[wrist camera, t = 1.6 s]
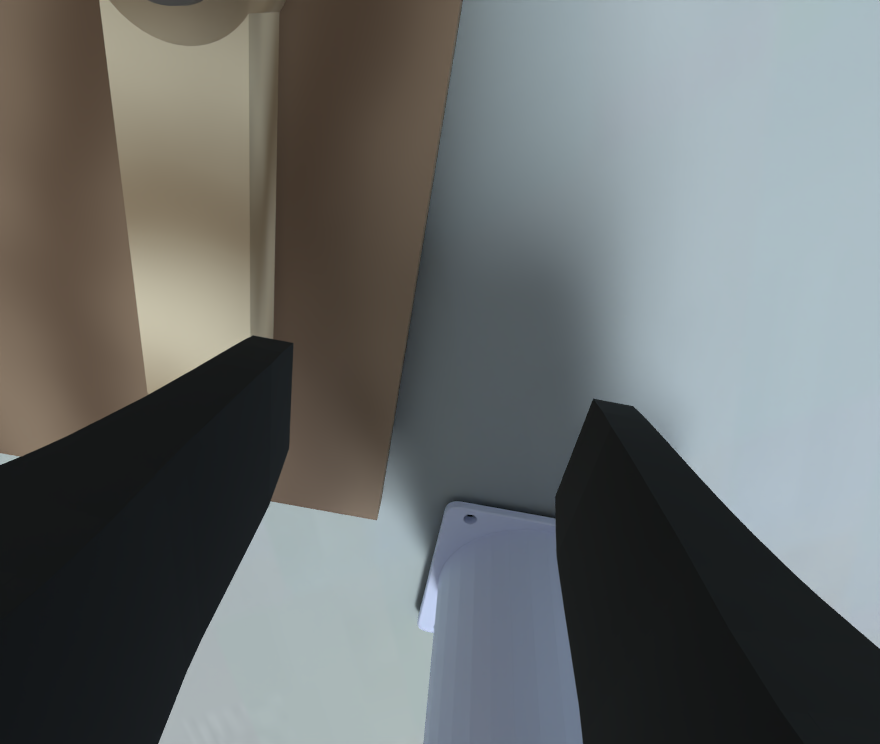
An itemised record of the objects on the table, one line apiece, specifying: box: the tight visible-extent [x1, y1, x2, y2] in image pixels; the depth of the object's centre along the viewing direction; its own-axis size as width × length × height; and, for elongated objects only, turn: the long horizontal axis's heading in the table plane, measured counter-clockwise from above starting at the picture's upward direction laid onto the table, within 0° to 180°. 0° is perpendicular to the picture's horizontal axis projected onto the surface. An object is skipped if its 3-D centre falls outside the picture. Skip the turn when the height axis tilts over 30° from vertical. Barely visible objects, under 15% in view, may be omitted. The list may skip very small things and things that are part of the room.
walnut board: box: [0, 0, 463, 520], centre depth 17 cm, size 19×19×1 cm
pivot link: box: [99, 0, 286, 394], centre depth 14 cm, size 13×4×3 cm, turn 170°
